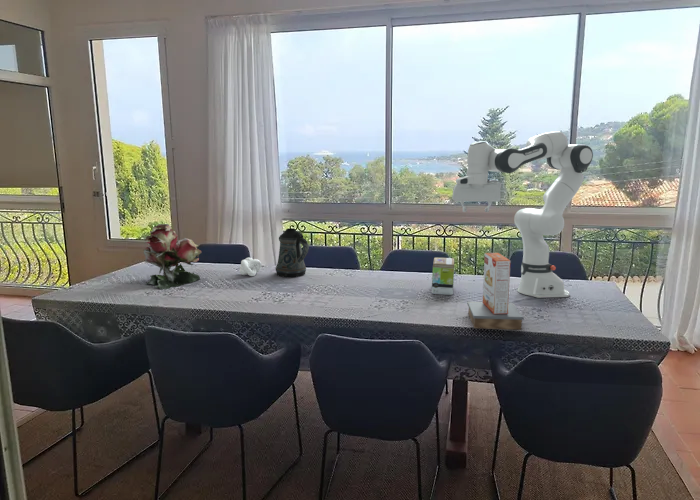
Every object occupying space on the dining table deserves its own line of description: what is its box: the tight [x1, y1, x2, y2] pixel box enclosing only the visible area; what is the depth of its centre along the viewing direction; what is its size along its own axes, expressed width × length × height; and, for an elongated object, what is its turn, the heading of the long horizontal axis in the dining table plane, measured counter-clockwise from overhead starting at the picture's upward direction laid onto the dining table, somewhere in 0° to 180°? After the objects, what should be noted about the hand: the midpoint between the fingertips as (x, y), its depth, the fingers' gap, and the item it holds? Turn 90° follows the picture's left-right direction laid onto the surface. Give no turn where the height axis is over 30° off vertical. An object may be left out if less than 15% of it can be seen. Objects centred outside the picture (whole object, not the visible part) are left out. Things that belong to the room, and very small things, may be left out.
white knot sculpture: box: [239, 257, 262, 277], centre depth 267 cm, size 11×12×9 cm
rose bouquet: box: [143, 223, 202, 290], centre depth 253 cm, size 26×29×30 cm
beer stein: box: [275, 227, 310, 279], centre depth 266 cm, size 16×19×25 cm
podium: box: [467, 301, 525, 330], centre depth 191 cm, size 18×18×5 cm
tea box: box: [431, 257, 455, 296], centre depth 234 cm, size 15×10×15 cm
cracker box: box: [482, 252, 511, 314], centre depth 189 cm, size 14×6×21 cm, turn 2°
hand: (475, 211), depth 215 cm, fingers open, 8 cm apart
